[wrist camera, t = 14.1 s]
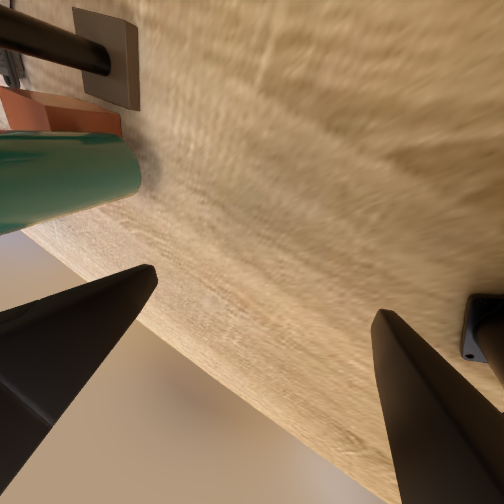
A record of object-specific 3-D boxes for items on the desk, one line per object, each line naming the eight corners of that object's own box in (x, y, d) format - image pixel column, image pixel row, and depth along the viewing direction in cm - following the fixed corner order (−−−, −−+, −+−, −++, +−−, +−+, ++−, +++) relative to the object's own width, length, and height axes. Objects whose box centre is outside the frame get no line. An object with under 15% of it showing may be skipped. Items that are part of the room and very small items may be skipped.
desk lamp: (137, 27, 17) (-695, -432, 3) (142, 197, 25) (-101, 258, 12) (62, 7, 19) (-674, -343, 5) (90, 171, 27) (-173, 199, 13)
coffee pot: (141, 142, 18) (-128, 150, 8) (143, 206, 22) (-41, 275, 11) (57, 110, 20) (-279, 78, 9) (71, 175, 23) (-159, 210, 12)
